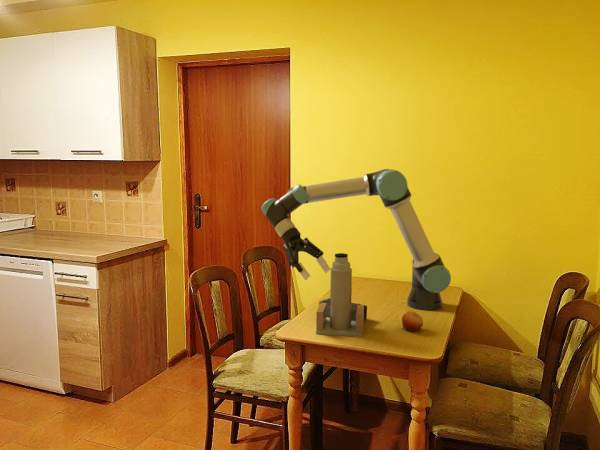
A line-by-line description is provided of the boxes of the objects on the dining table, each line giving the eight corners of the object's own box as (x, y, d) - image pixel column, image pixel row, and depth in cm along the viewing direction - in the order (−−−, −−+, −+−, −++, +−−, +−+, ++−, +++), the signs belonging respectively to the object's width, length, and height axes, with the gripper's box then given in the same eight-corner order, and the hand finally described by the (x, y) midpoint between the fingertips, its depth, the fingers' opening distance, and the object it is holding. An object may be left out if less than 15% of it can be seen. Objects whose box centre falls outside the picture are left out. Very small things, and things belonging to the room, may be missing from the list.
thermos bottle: (352, 323, 200) (353, 252, 196) (349, 330, 192) (351, 256, 189) (331, 321, 202) (332, 251, 198) (328, 328, 194) (329, 255, 190)
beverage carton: (329, 310, 221) (329, 295, 220) (367, 320, 209) (368, 304, 208) (318, 315, 215) (318, 299, 214) (357, 325, 203) (357, 308, 202)
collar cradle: (363, 324, 203) (364, 304, 201) (361, 336, 189) (362, 315, 188) (320, 321, 205) (320, 301, 204) (315, 333, 192) (316, 312, 191)
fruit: (403, 320, 203) (413, 305, 200) (418, 334, 200) (429, 319, 196) (393, 325, 197) (403, 310, 194) (408, 340, 193) (419, 324, 190)
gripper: (301, 233, 219) (330, 273, 213) (262, 242, 200) (293, 286, 193) (311, 222, 215) (341, 262, 209) (272, 230, 196) (304, 275, 189)
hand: (318, 274), depth 201 cm, fingers open, 13 cm apart
